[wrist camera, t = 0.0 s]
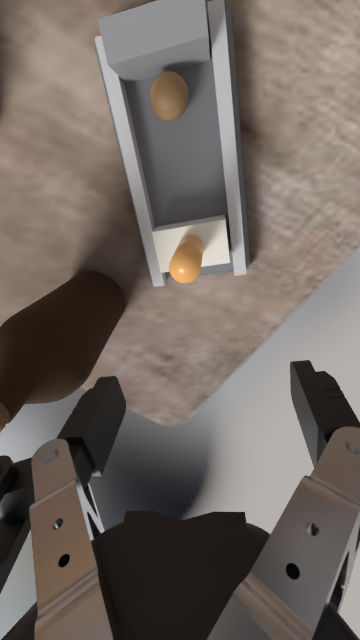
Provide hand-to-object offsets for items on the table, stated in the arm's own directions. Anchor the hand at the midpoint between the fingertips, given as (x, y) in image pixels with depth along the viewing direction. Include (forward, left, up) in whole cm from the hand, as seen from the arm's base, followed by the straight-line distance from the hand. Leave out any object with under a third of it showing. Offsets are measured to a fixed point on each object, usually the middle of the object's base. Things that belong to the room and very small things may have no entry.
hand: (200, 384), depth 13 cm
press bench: (-9, -2, -29) cm, 31 cm away
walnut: (-16, -2, -28) cm, 32 cm away
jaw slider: (-1, -2, -27) cm, 28 cm away
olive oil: (+6, -19, -30) cm, 36 cm away
